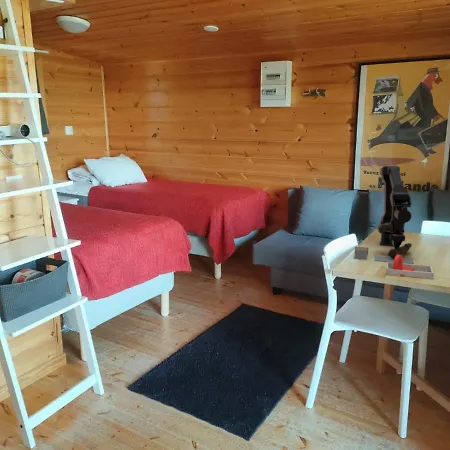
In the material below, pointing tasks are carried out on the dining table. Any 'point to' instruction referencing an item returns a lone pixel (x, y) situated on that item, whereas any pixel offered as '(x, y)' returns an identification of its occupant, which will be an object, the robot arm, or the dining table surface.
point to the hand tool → (399, 250)
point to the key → (364, 247)
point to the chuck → (360, 253)
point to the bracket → (399, 264)
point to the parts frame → (411, 273)
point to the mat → (389, 259)
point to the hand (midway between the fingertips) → (395, 251)
